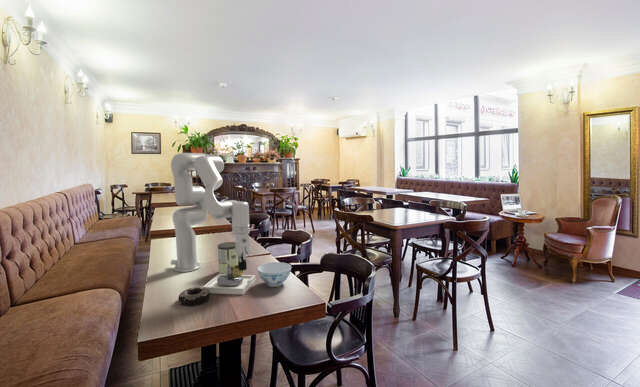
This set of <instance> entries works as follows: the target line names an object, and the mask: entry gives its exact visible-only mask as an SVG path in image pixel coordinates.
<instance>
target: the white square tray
mask: <svg viewBox="0 0 640 387" xmlns="http://www.w3.org/2000/svg"><path fill="white" fill-rule="evenodd" d="M223 275H226V274H219V273H218V274H217V275H215V276H214V277H213V278H212V279H210V280H209V281H208V282H207V283H206V284H204V285H203V286H202V288H206V289H207V290H208V291H209V293H210V294H221V295H222V294H224V295H245V293H247V291H248V290H249V289H250V288H251V286H252V285H253V284H254V283H255V282H256V280H257V279H256V277H257V276H256V275H254V274H243V275H242V276H243V282H242V283H241V284H240V285H238V286H234V287H220V286H218V285H217V278H218V277H220V276H223Z"/></svg>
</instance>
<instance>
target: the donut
mask: <svg viewBox="0 0 640 387" xmlns="http://www.w3.org/2000/svg"><path fill="white" fill-rule="evenodd" d="M202 287H203V286H202ZM202 287H201V286H197V287H196V286H195V287H190V288H187V289H185V290H183V291H181V292H180V293H179V295H178V298H177V299H178V302H179V303H180V304H181V305H183V306H188V307H189V306H197V305H201V304H203V303H205V302H206V301H208V300H209V299H210V294H211V293H209V291H208V290H207V289H206V288H202Z"/></svg>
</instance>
